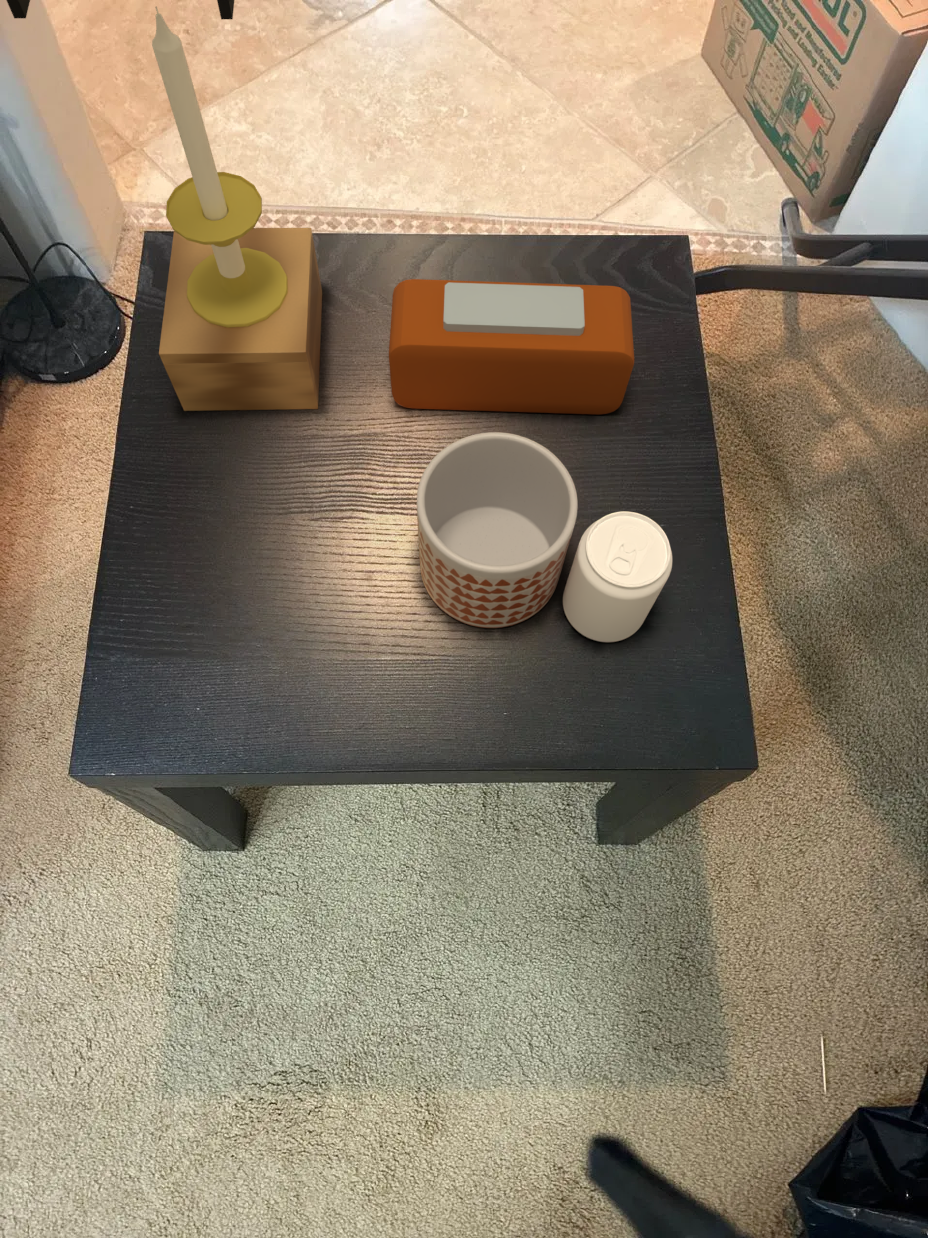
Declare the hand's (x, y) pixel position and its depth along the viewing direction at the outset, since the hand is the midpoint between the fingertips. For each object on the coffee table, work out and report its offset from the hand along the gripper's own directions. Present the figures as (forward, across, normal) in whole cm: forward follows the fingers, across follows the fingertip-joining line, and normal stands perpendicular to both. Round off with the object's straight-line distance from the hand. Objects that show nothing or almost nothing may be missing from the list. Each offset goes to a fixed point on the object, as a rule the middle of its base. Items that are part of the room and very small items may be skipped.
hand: (126, 6), depth 59 cm
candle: (+29, -1, -3) cm, 29 cm away
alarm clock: (+38, -28, +2) cm, 47 cm away
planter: (+38, -26, +24) cm, 52 cm away
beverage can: (+38, -36, +28) cm, 60 cm away
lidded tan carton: (+38, -1, -3) cm, 38 cm away
